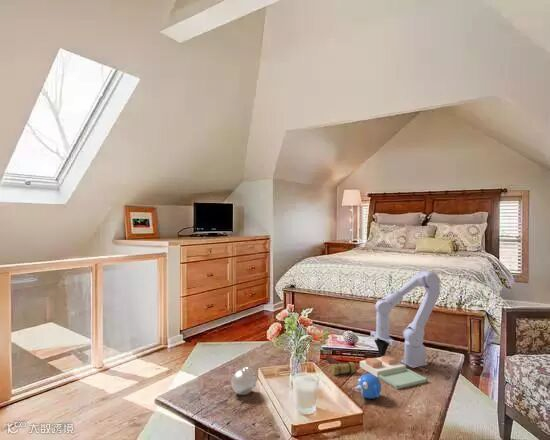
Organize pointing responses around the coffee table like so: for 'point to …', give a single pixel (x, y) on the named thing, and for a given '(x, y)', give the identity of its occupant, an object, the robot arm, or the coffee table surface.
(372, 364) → the tile
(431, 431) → the coffee table surface
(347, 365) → the gavel
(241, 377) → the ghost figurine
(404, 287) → the robot arm
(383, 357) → the tile
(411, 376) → the tray
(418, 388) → the coffee table surface
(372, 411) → the coffee table surface
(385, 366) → the board
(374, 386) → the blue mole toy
